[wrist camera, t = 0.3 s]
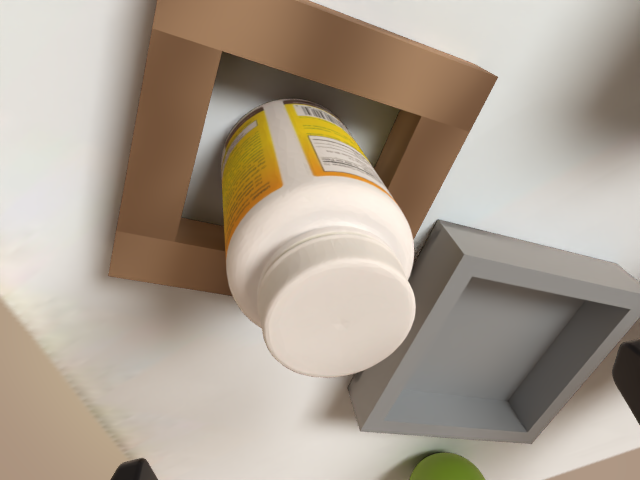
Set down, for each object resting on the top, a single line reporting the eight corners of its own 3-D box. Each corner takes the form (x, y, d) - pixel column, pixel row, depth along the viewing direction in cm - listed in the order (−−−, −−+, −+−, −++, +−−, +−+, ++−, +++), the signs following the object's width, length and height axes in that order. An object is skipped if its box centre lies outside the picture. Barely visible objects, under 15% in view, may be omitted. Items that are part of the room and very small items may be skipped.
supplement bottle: (236, 227, 22) (251, 418, 14) (206, 106, 19) (201, 258, 10) (357, 203, 22) (444, 375, 14) (347, 82, 19) (451, 209, 11)
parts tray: (617, 263, 28) (656, 297, 25) (507, 404, 33) (531, 443, 31) (437, 219, 24) (464, 254, 21) (347, 388, 29) (360, 431, 27)
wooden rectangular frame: (474, 63, 20) (498, 77, 18) (362, 292, 25) (372, 318, 24) (170, -53, 16) (165, -49, 14) (116, 248, 21) (108, 275, 20)
